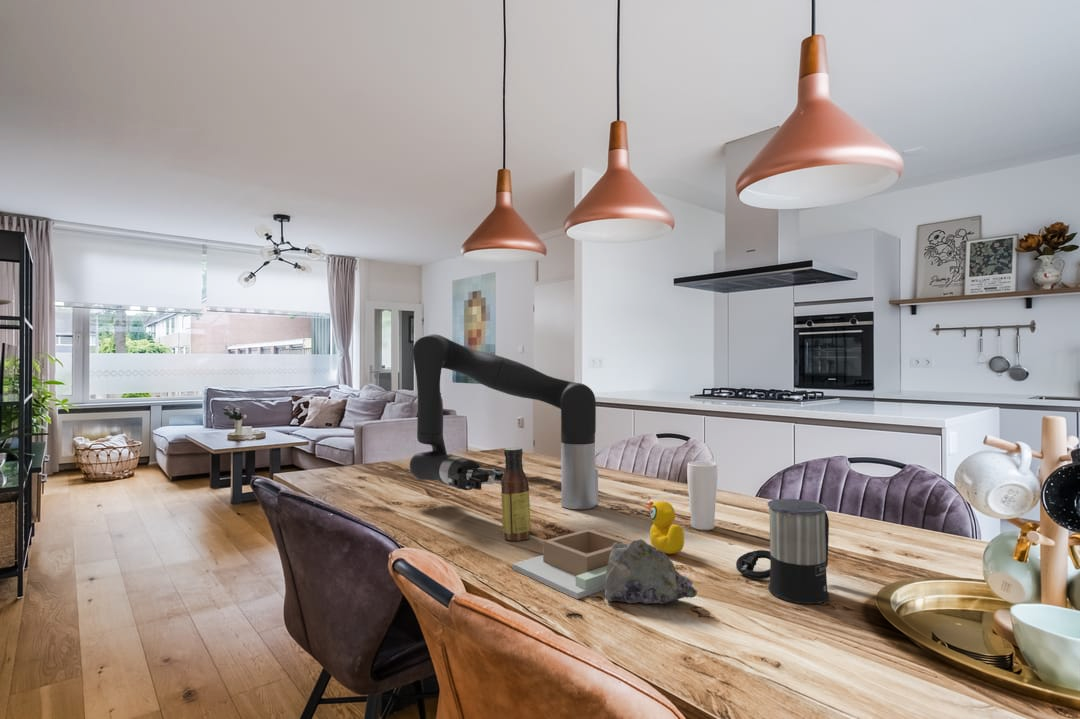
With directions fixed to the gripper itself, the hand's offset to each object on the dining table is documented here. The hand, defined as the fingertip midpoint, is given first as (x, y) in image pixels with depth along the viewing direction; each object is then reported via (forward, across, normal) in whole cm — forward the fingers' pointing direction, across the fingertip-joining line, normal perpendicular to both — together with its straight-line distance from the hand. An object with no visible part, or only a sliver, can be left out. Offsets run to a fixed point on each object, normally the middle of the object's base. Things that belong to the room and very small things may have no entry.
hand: (495, 482), depth 132 cm
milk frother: (+59, +19, +11) cm, 63 cm away
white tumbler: (+30, +38, +11) cm, 50 cm away
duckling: (+35, +18, +11) cm, 41 cm away
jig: (+32, -1, +11) cm, 34 cm away
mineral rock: (+49, -4, +11) cm, 50 cm away
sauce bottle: (+8, 0, +11) cm, 14 cm away
